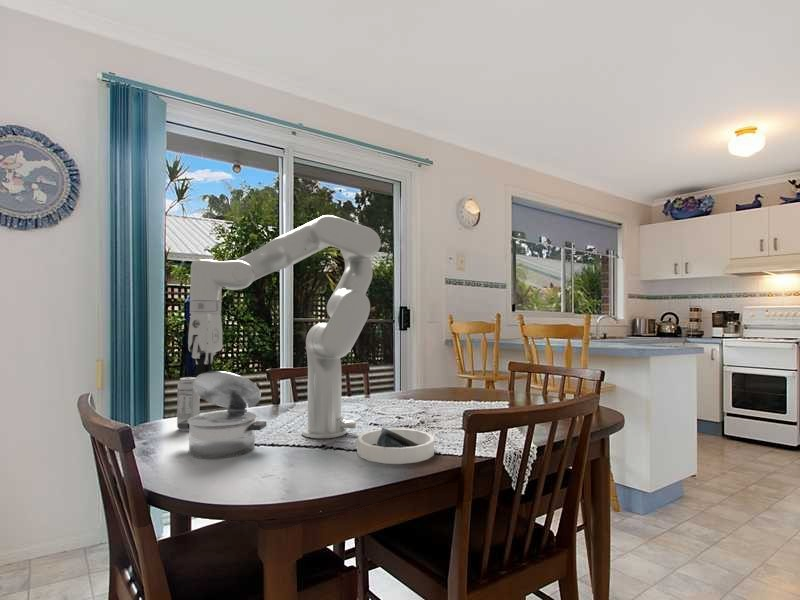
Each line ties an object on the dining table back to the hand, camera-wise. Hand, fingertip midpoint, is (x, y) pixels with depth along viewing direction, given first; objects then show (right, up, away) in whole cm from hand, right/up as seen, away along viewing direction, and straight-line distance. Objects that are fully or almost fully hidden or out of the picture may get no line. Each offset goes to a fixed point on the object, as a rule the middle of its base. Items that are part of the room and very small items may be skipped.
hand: (203, 379), depth 127 cm
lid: (+5, -4, +1) cm, 7 cm away
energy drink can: (-12, -18, +19) cm, 29 cm away
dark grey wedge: (+50, -18, -6) cm, 53 cm away
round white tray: (+49, -18, -3) cm, 52 cm away
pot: (+5, -18, -1) cm, 18 cm away
